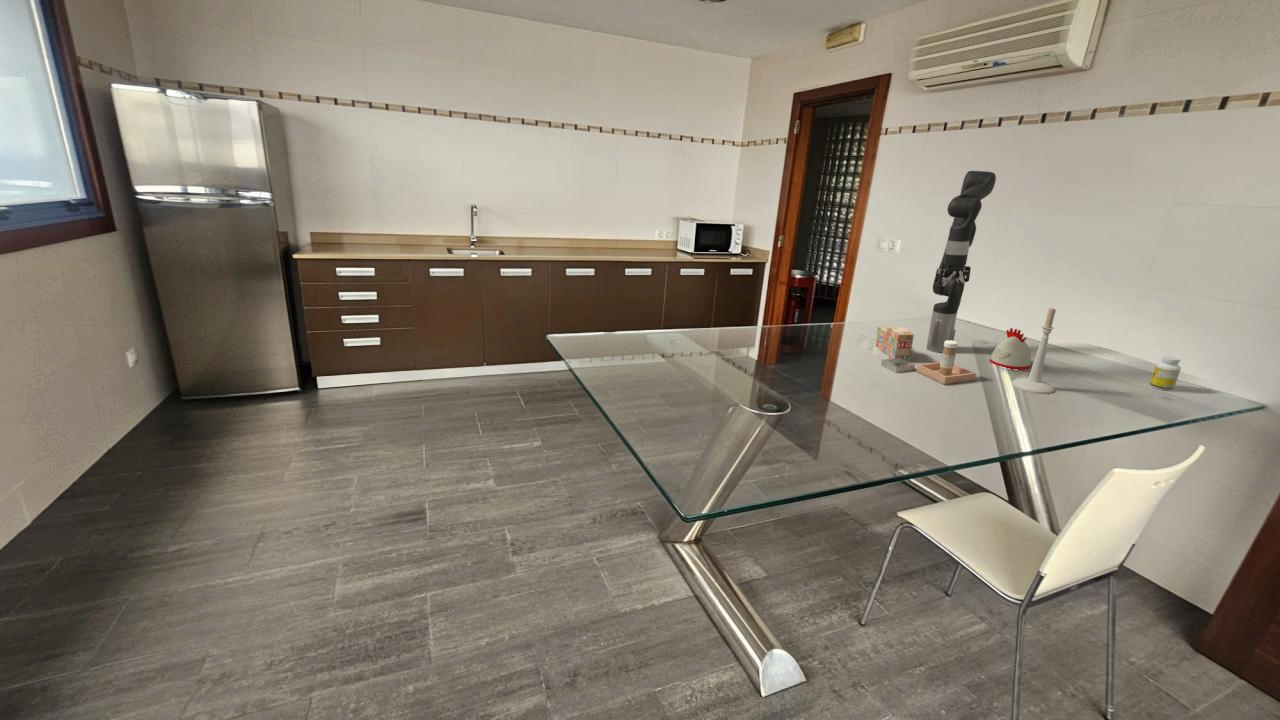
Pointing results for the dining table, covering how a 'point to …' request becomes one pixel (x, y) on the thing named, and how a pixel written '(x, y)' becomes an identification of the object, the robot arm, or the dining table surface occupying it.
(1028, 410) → the dining table surface
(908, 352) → the colourful printed box
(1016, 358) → the kitchen timer
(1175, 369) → the pill bottle
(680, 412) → the dining table surface
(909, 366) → the grey flat square frame
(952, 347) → the sprinkles bottle
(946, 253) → the robot arm
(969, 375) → the tray
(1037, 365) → the candlestick
